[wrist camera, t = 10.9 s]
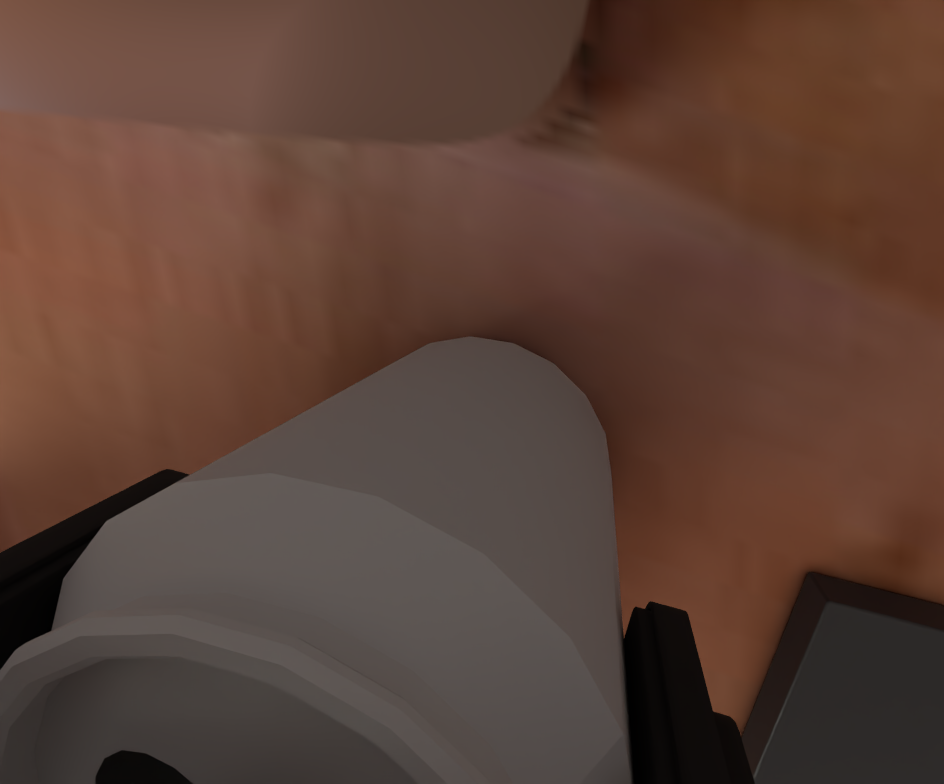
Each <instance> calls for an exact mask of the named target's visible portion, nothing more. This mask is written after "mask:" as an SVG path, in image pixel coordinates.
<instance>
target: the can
mask: <svg viewBox="0 0 944 784" xmlns="http://www.w3.org/2000/svg"><path fill="white" fill-rule="evenodd" d="M0 784H635V783H634V770H633V757H632V743H631V730H630V716H629V703H628V690H627V676H626V663H625V649H624V636H623V623H622V609H621V596H620V582H619V569H618V556H617V542H616V529H615V515H614V502H613V489H612V475H611V468H610V461H609V454H608V447H607V440H606V433H605V431H604V430H603V428H602V426H601V424H600V422H599V420H598V418H597V416H596V414H595V412H594V410H593V408H592V406H591V404H590V402H589V400H588V398H587V396H586V395H585V394H584V393H583V392H582V391H581V390H580V389H579V388H578V387H577V386H576V385H575V384H574V383H573V382H572V381H571V380H570V379H569V378H568V377H567V376H566V375H565V374H564V373H563V372H562V371H561V370H560V369H559V368H558V367H557V366H556V365H555V364H554V363H552V362H550V361H548V360H546V359H544V358H542V357H540V356H538V355H536V354H534V353H532V352H530V351H528V350H526V349H524V348H522V347H520V346H518V345H516V344H514V343H509V342H503V341H497V340H490V339H484V338H478V337H471V336H470V337H464V338H458V339H452V340H446V341H439V342H433V343H429V344H427V345H425V346H423V347H421V348H419V349H418V350H416V351H414V352H412V353H410V354H408V355H407V356H405V357H403V358H401V359H399V360H397V361H395V362H394V363H392V364H390V365H388V366H386V367H385V368H383V369H381V370H379V371H377V372H376V373H374V374H372V375H370V376H368V377H366V378H365V379H363V380H361V381H359V382H357V383H356V384H354V385H352V386H350V387H348V388H347V389H345V390H343V391H341V392H339V393H337V394H336V395H334V396H332V397H330V398H328V399H327V400H325V401H323V402H321V403H319V404H318V405H316V406H314V407H312V408H310V409H309V410H307V411H305V412H303V413H301V414H299V415H298V416H296V417H294V418H292V419H290V420H289V421H287V422H285V423H283V424H281V425H280V426H278V427H276V428H274V429H272V430H270V431H269V432H267V433H265V434H263V435H261V436H260V437H258V438H256V439H254V440H252V441H251V442H249V443H247V444H245V445H243V446H241V447H240V448H238V449H236V450H234V451H232V452H231V453H229V454H227V455H225V456H223V457H222V458H220V459H218V460H216V461H214V462H213V463H211V464H209V465H207V466H205V467H203V468H202V469H200V470H198V471H196V472H194V473H193V474H191V475H189V476H187V477H185V478H184V479H182V480H180V481H178V482H176V483H174V484H173V485H171V486H169V487H167V488H165V489H164V490H162V491H160V492H158V493H156V494H155V495H153V496H151V497H149V498H147V499H145V500H144V501H142V502H140V503H138V504H136V505H135V506H133V507H131V508H129V509H127V510H126V511H124V512H122V513H120V514H118V515H117V516H115V517H113V518H111V519H109V520H107V521H106V522H105V524H104V525H103V526H102V528H101V529H100V530H99V532H98V533H97V534H96V536H95V537H94V538H93V540H92V541H91V542H90V544H89V545H88V546H87V548H86V549H85V550H84V552H83V553H82V554H81V556H80V557H79V558H78V560H77V561H76V562H75V564H74V565H73V566H72V568H71V569H70V570H69V572H68V573H67V574H66V576H65V577H64V578H63V582H62V587H61V591H60V595H59V599H58V604H57V608H56V612H55V617H54V621H53V625H52V630H51V631H50V632H48V633H46V634H44V635H41V636H39V637H37V638H35V639H33V640H31V641H29V642H26V643H25V644H23V645H22V646H20V647H19V648H18V649H16V650H15V651H14V653H13V654H12V655H11V656H10V658H9V659H8V660H7V662H6V663H5V664H4V666H3V667H2V668H1V670H0Z"/></svg>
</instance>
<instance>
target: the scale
mask: <svg viewBox="0 0 944 784" xmlns="http://www.w3.org/2000/svg"><path fill="white" fill-rule="evenodd" d="M741 739H742V742H743V746H744V749H745V752H746V756H747V759H748V762H749V765H750V769H751V772H752V775H753V779H754V782H755V784H944V606H942V605H938V604H934V603H930V602H926V601H922V600H919V599H915V598H911V597H907V596H903V595H899V594H895V593H891V592H887V591H883V590H879V589H875V588H871V587H867V586H864V585H860V584H856V583H852V582H848V581H844V580H840V579H836V578H832V577H828V576H824V575H820V574H816V573H812V572H809V573H808V574H807V577H806V579H805V582H804V584H803V587H802V589H801V592H800V594H799V596H798V599H797V601H796V604H795V606H794V609H793V611H792V614H791V616H790V619H789V621H788V624H787V626H786V629H785V631H784V634H783V636H782V639H781V641H780V644H779V646H778V649H777V651H776V654H775V656H774V659H773V661H772V664H771V666H770V668H769V671H768V673H767V676H766V678H765V681H764V683H763V686H762V688H761V691H760V693H759V696H758V698H757V701H756V703H755V706H754V708H753V711H752V713H751V716H750V718H749V721H748V723H747V726H746V728H745V731H744V733H743V736H742V738H741Z"/></svg>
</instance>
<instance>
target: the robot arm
mask: <svg viewBox="0 0 944 784" xmlns="http://www.w3.org/2000/svg"><path fill="white" fill-rule="evenodd" d="M187 476H189V474H185V473H182V472H178V471H174V470H170V469H166V470H163V471H160V472H158V473H156V474H154V475H152V476H150V477H148V478H146V479H144V480H142V481H140V482H138V483H137V484H135V485H133V486H131V487H129V488H127V489H125V490H123V491H121V492H119V493H117V494H115V495H113V496H111V497H109V498H107V499H105V500H103V501H101V502H99V503H97V504H95V505H93V506H91V507H89V508H87V509H85V510H83V511H81V512H79V513H77V514H75V515H74V516H72V517H70V518H68V519H66V520H64V521H62V522H60V523H58V524H56V525H54V526H52V527H50V528H48V529H46V530H44V531H42V532H40V533H38V534H36V535H34V536H32V537H30V538H28V539H26V540H24V541H22V542H20V543H18V544H16V545H14V546H12V547H10V548H9V549H7V550H5V551H3V552H1V553H0V670H1V668H2V667H3V666H4V664H5V663H6V662H7V660H8V659H9V658H10V656H11V655H12V654H13V653H14V651H15V650H16V649H18V648H19V647H20V646H22V645H23V644H25V643H26V642H29V641H31V640H33V639H35V638H37V637H39V636H41V635H44V634H46V633H48V632H50V631H51V630H52V625H53V621H54V617H55V612H56V608H57V604H58V599H59V595H60V591H61V587H62V582H63V578H64V577H65V576H66V574H67V573H68V572H69V570H70V569H71V568H72V566H73V565H74V564H75V562H76V561H77V560H78V558H79V557H80V556H81V554H82V553H83V552H84V550H85V549H86V548H87V546H88V545H89V544H90V542H91V541H92V540H93V538H94V537H95V536H96V534H97V533H98V532H99V530H100V529H101V528H102V526H103V525H104V524H105V522H106V521H107V520H109V519H111V518H113V517H115V516H117V515H118V514H120V513H122V512H124V511H126V510H127V509H129V508H131V507H133V506H135V505H136V504H138V503H140V502H142V501H144V500H145V499H147V498H149V497H151V496H153V495H155V494H156V493H158V492H160V491H162V490H164V489H165V488H167V487H169V486H171V485H173V484H174V483H176V482H178V481H180V480H182V479H184V478H185V477H187ZM624 649H625V663H626V676H627V690H628V703H629V716H630V730H631V743H632V757H633V770H634V783H635V784H755V782H754V779H753V775H752V772H751V769H750V765H749V762H748V759H747V756H746V752H745V749H744V746H743V742H742V739H741V736H740V732H739V730H738V727H737V725H736V723H735V721H734V720H733V719H732V718H731V717H729V716H726V715H723V714H719V713H716V712H713V710H712V706H711V702H710V698H709V694H708V691H707V687H706V683H705V679H704V675H703V671H702V667H701V663H700V659H699V655H698V652H697V648H696V644H695V640H694V636H693V632H692V628H691V624H690V620H689V616H688V614H687V612H686V611H684V610H680V609H677V608H673V607H670V606H666V605H662V604H659V603H655V602H651V601H650V602H649V603H648V604H647V606H646V608H645V609H642V608H638V607H635V608H634V609H633V611H632V614H631V617H630V621H629V624H628V627H627V631H626V634H625V637H624Z"/></svg>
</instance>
